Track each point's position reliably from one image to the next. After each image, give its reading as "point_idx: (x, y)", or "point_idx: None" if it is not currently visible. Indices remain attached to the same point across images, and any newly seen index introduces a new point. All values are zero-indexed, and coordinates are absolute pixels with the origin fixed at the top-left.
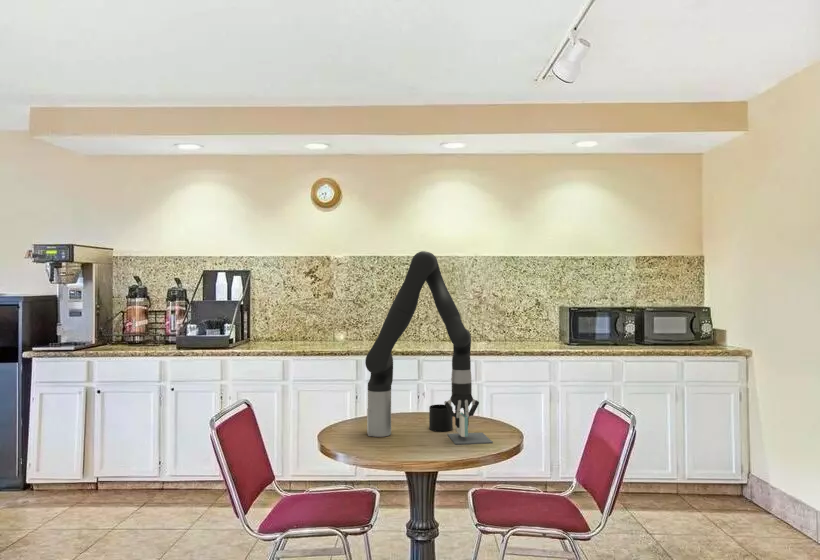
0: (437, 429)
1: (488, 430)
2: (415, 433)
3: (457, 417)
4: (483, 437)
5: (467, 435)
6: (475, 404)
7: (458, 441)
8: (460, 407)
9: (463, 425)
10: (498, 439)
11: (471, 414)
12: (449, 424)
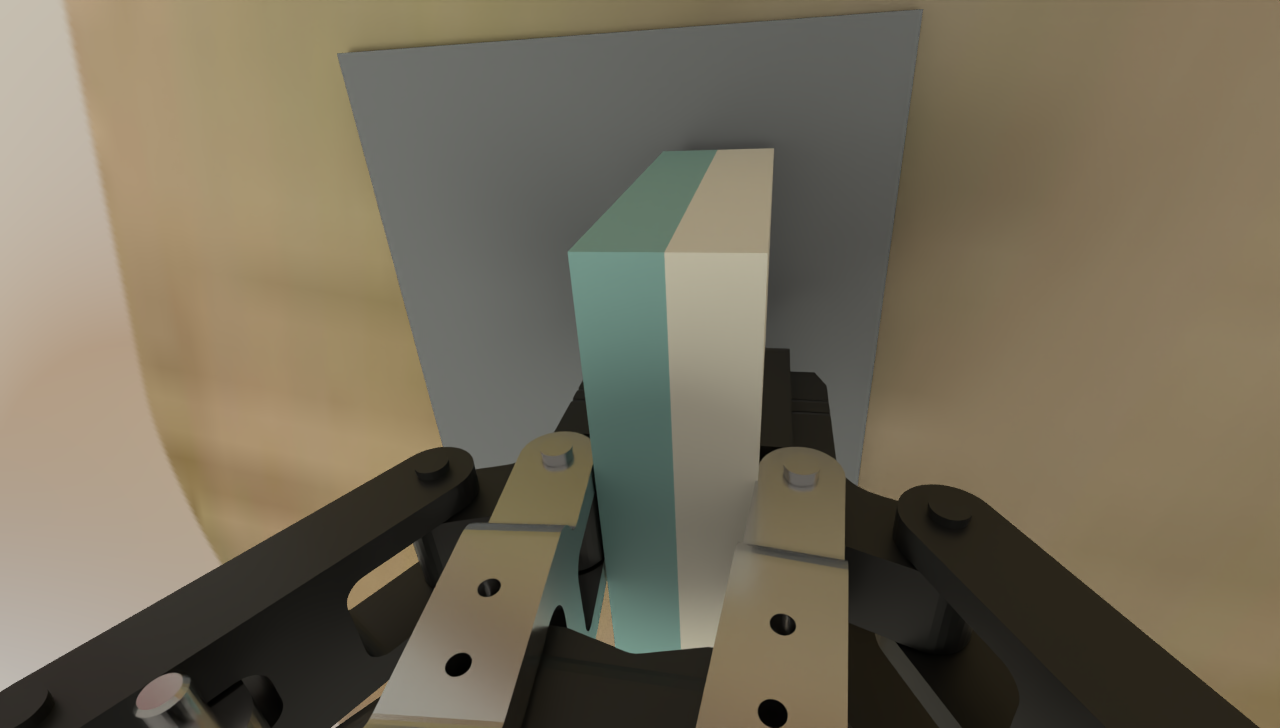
0: None
1: (398, 553)
2: (1228, 644)
3: (812, 455)
4: (448, 289)
5: (668, 153)
6: (143, 678)
7: (828, 130)
8: (713, 655)
9: (723, 193)
10: (292, 234)
11: (445, 462)
12: None
